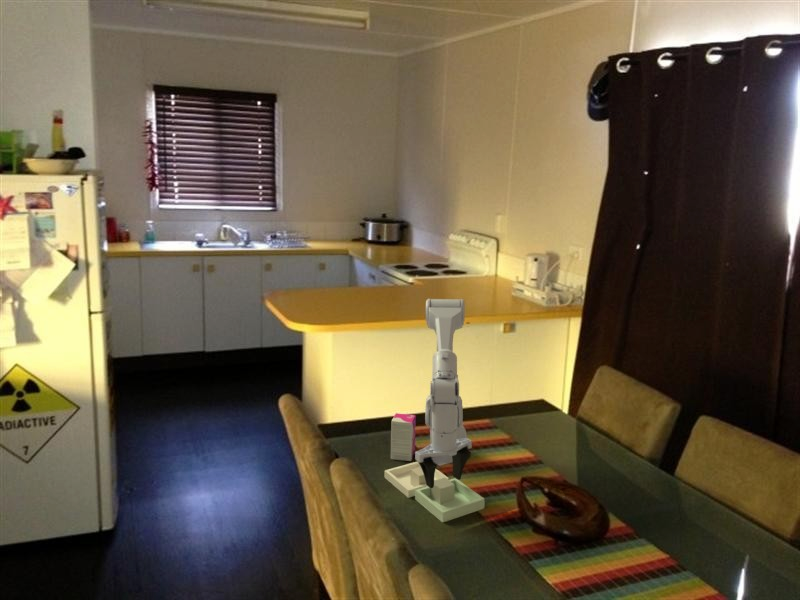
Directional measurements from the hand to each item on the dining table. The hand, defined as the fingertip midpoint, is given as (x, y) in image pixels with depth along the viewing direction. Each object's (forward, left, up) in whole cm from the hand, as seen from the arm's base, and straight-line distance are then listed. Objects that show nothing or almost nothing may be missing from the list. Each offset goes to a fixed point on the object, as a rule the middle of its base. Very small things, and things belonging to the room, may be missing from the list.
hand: (443, 482), depth 161 cm
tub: (0, +3, -5) cm, 6 cm away
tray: (+1, -10, -5) cm, 12 cm away
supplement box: (-3, -24, -5) cm, 25 cm away
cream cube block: (0, 0, -4) cm, 4 cm away
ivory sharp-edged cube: (+1, -8, -4) cm, 9 cm away
